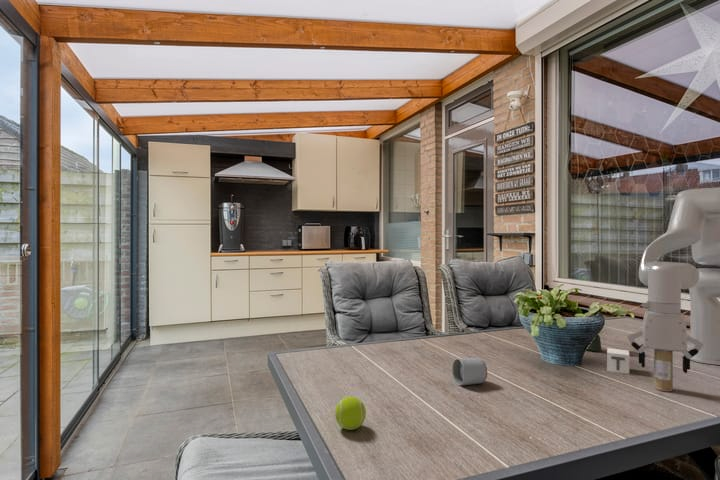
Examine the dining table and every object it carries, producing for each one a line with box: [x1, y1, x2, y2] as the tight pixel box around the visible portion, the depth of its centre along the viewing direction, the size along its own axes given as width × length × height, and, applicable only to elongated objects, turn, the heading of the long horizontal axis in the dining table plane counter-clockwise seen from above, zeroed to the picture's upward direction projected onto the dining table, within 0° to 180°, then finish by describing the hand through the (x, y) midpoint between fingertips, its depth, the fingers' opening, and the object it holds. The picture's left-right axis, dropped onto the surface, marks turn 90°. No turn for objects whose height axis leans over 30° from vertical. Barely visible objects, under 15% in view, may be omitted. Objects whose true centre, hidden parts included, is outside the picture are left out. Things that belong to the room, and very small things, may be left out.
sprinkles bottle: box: [653, 349, 674, 393], centre depth 120 cm, size 5×5×14 cm
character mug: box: [587, 329, 604, 352], centre depth 161 cm, size 11×7×13 cm, turn 116°
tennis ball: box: [334, 396, 367, 431], centre depth 97 cm, size 7×7×7 cm
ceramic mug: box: [451, 357, 488, 387], centre depth 127 cm, size 11×8×8 cm
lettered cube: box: [606, 347, 630, 375], centre depth 138 cm, size 6×6×6 cm
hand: (663, 368), depth 120 cm, fingers open, 9 cm apart
